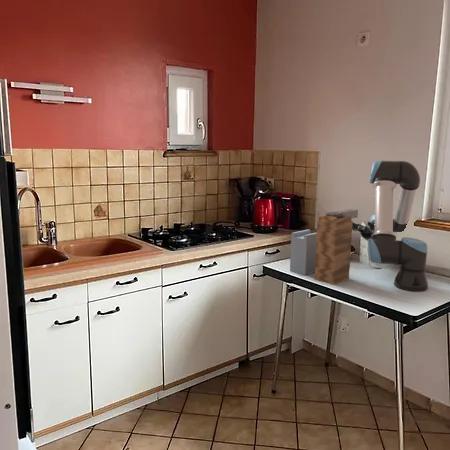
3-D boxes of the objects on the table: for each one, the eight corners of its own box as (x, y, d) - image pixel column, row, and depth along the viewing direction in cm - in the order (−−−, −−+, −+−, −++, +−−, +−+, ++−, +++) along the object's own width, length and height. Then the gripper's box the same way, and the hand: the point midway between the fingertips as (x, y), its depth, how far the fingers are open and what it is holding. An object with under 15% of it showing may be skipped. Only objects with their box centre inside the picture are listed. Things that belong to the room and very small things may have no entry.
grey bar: (358, 217, 235) (359, 210, 234) (334, 222, 220) (334, 214, 220) (349, 216, 239) (350, 208, 238) (325, 221, 224) (325, 213, 223)
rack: (320, 270, 246) (322, 232, 242) (305, 275, 237) (306, 235, 233) (305, 266, 254) (307, 229, 250) (289, 271, 244) (291, 232, 240)
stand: (348, 278, 232) (353, 214, 226) (333, 284, 222) (337, 217, 216) (330, 274, 240) (334, 212, 234) (314, 279, 230) (317, 214, 224)
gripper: (388, 244, 242) (372, 228, 228) (347, 236, 260) (330, 221, 246) (393, 231, 243) (377, 215, 229) (352, 224, 261) (334, 209, 247)
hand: (352, 218), depth 237 cm, fingers open, 13 cm apart
